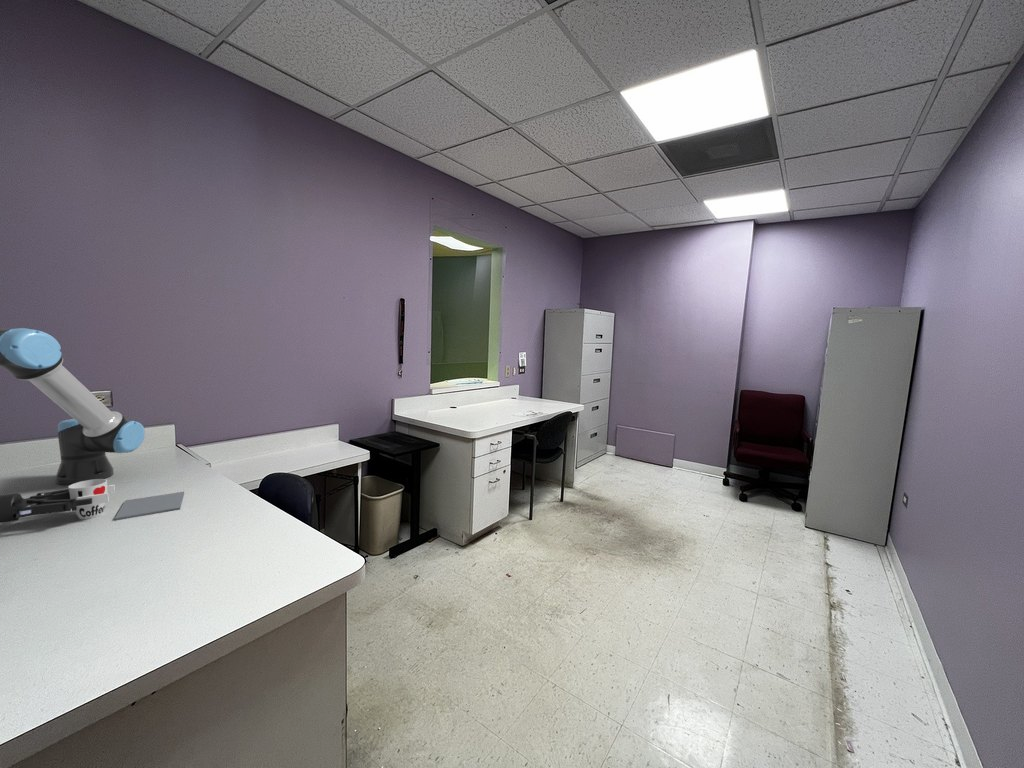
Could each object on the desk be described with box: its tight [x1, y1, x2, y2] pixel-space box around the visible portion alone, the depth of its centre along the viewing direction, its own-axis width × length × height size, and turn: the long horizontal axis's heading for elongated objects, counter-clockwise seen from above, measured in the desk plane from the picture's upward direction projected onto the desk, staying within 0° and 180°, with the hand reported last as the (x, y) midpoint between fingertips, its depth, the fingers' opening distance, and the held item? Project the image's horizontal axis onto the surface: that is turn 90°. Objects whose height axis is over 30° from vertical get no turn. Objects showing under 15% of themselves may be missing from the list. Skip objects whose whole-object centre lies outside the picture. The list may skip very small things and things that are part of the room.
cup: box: [67, 478, 108, 520], centre depth 123 cm, size 8×8×10 cm
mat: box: [114, 491, 185, 521], centre depth 132 cm, size 16×15×1 cm
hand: (111, 493), depth 126 cm, fingers closed on cup, 8 cm apart
